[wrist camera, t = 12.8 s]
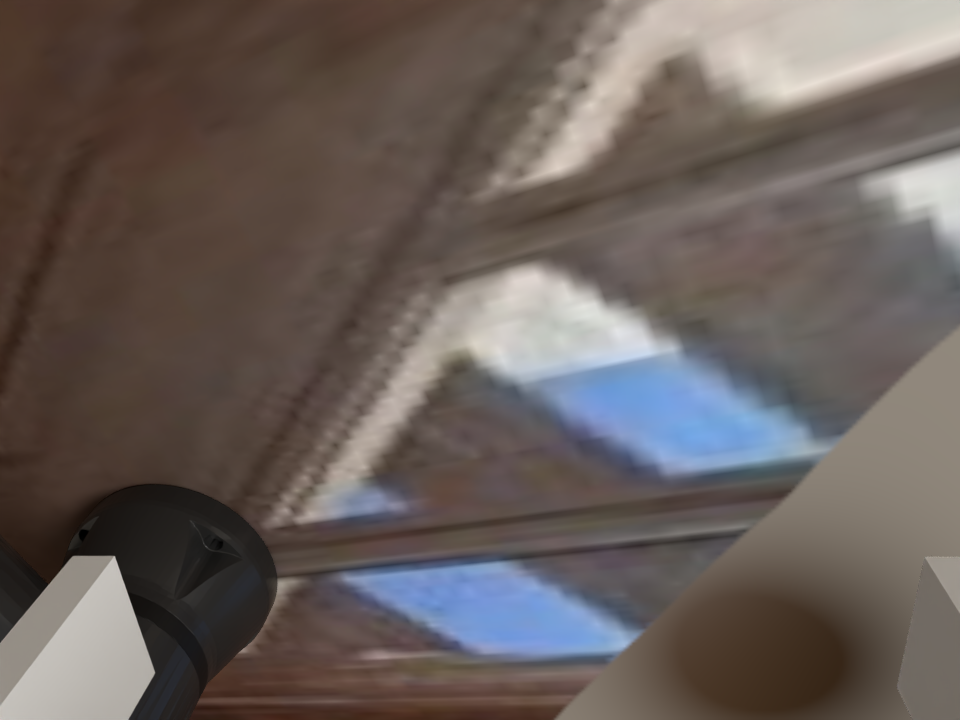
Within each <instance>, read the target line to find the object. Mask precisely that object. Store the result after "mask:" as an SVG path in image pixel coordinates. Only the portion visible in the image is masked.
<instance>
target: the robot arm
mask: <svg viewBox="0 0 960 720" xmlns="http://www.w3.org/2000/svg"><path fill="white" fill-rule="evenodd" d="M276 593H277V574H276V569H275V565H274V562H273V559H272V557H271V555H270V553H269V551H268V549H267V547H266V545H265V544H264V542H263V541H262V539H261V538H260V536H259V535H258V534H257V533H256V532H255V530H254V529H253V528H252V527H251V526H250V525H249V524H248V523H247V522H246V521H245V520H244V519H242V518H241V517H240V516H239V515H238V514H236V513H235V512H234V511H232V510H231V509H229V508H228V507H226V506H225V505H223V504H221V503H219V502H218V501H216V500H214V499H212V498H210V497H207V496H205V495H203V494H200V493H197V492H194V491H191V490H188V489H184V488H179V487H174V486H167V485H142V486H135V487H131V488H127V489H124V490H121V491H118V492H116V493H114V494H112V495H110V496H109V497H107V498H106V499H104V500H103V501H102V502H100V503H99V504H98V505H97V506H96V507H95V509H94V510H93V511H92V512H91V513H90V514H89V515H88V517H87V518H86V519H85V520H84V521H83V522H82V523H81V525H80V526H79V527H78V529H77V530H76V532H75V534H74V536H73V537H72V539H71V542H70V544H69V547H68V551H67V553H66V556H65V559H64V562H63V565H62V568H61V571H60V572H59V573H58V574H57V576H56V577H55V578H54V579H53V580H52V582H51V583H50V584H49V585H48V584H47V583H46V582H45V581H44V580H43V579H42V578H41V577H40V576H39V575H38V574H37V572H36V571H35V570H34V569H33V568H32V567H31V566H30V565H29V564H28V563H27V562H26V561H25V560H24V559H23V558H22V557H21V556H20V555H19V554H18V553H17V552H16V551H15V550H14V549H13V548H12V546H11V545H10V544H9V543H8V542H7V541H6V540H5V539H4V538H3V537H2V536H1V535H0V720H189V718H190V716H191V714H192V712H193V710H194V708H195V706H196V704H197V702H198V700H199V698H200V696H201V694H202V692H203V691H204V689H205V687H206V685H207V683H208V682H209V681H210V680H211V679H212V678H213V677H214V676H216V675H217V674H218V673H219V672H220V671H221V670H222V669H223V668H224V667H225V666H226V665H227V664H228V663H229V662H230V661H231V660H232V659H233V658H234V656H235V655H236V654H237V653H238V652H240V651H241V650H242V649H243V648H245V647H246V646H247V645H248V644H249V643H250V642H251V641H252V640H253V639H254V638H255V637H256V636H257V634H258V633H259V632H260V630H261V628H262V627H263V625H264V623H265V621H266V619H267V617H268V614H269V612H270V610H271V608H272V606H273V604H274V601H275V597H276ZM897 688H898V691H899V693H900V695H901V697H902V699H903V701H904V703H905V705H906V708H907V709H908V712H909V714H910V716H911V718H912V720H960V557H924V562H923V566H922V571H921V576H920V581H919V585H918V590H917V595H916V600H915V604H914V609H913V614H912V619H911V623H910V628H909V633H908V637H907V642H906V647H905V652H904V656H903V661H902V666H901V670H900V675H899V680H898V684H897Z"/></svg>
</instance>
